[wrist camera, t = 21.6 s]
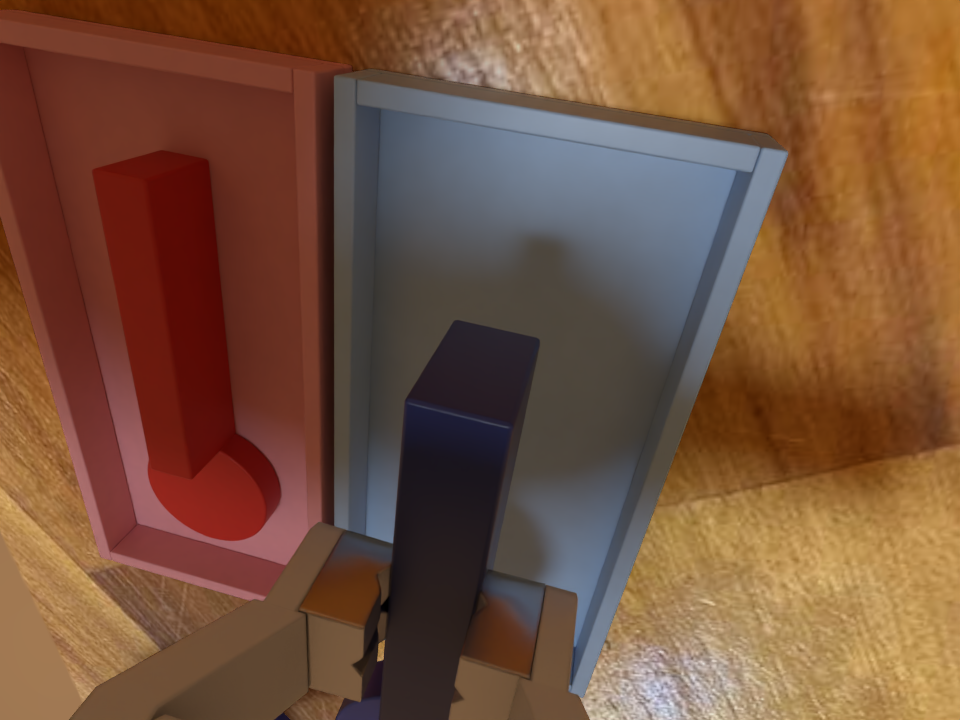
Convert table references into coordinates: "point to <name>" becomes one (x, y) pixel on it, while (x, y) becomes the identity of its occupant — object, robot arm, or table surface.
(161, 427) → the red spoon
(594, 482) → the blue tray
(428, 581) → the blue spoon
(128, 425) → the pink tray
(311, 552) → the robot arm
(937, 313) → the table surface
